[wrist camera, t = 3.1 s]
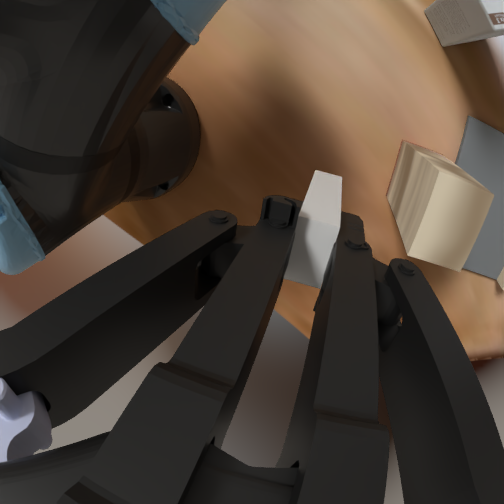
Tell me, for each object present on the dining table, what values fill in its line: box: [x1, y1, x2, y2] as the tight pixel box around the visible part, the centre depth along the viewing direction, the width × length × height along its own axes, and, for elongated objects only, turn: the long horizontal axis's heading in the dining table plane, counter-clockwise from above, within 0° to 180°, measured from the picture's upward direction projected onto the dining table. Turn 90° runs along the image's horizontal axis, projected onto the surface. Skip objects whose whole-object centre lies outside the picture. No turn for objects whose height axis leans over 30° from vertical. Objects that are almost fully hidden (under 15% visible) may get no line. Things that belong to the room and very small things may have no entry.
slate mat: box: [455, 116, 504, 290], centre depth 23 cm, size 13×16×3 cm
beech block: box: [386, 140, 494, 272], centre depth 21 cm, size 4×6×12 cm
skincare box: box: [424, 0, 504, 47], centre depth 12 cm, size 6×4×12 cm
